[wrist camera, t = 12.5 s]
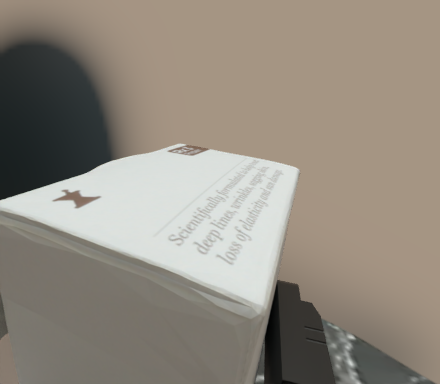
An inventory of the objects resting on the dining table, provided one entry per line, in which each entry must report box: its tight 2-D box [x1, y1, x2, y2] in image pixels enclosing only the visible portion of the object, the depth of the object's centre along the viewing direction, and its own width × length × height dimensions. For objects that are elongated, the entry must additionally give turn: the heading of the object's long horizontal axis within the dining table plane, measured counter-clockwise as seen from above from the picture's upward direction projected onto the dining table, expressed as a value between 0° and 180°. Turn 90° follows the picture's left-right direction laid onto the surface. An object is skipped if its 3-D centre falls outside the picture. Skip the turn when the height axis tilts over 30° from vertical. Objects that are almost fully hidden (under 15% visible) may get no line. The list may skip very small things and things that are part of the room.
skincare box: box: [0, 144, 300, 384], centre depth 8 cm, size 6×4×12 cm
